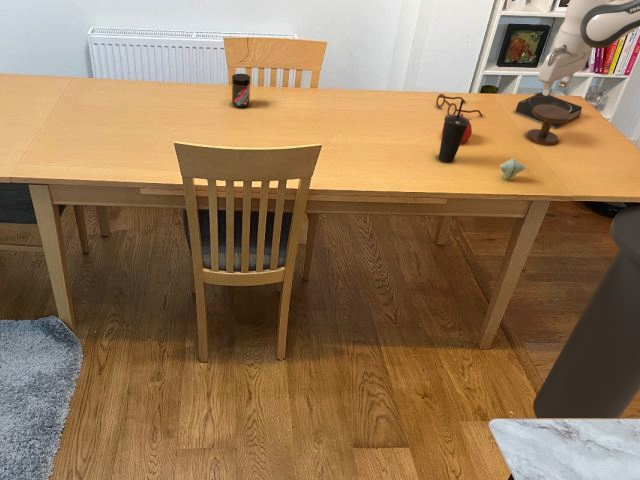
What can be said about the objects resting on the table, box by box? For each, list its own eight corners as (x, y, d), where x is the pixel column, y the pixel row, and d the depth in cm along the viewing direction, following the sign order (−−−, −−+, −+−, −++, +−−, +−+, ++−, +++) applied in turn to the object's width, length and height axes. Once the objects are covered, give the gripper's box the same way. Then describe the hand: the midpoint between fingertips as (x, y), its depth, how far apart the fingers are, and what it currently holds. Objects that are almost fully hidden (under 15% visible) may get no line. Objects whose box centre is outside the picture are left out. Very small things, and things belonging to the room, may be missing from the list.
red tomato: (457, 130, 208) (464, 105, 202) (474, 143, 201) (482, 117, 195) (434, 134, 205) (440, 108, 199) (450, 147, 198) (457, 121, 192)
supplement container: (230, 107, 215) (230, 79, 208) (233, 100, 220) (233, 72, 213) (248, 109, 215) (249, 81, 208) (250, 102, 220) (251, 74, 213)
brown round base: (567, 142, 204) (578, 115, 197) (543, 149, 199) (554, 121, 193) (539, 128, 212) (550, 101, 205) (516, 134, 207) (526, 107, 200)
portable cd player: (556, 128, 212) (560, 118, 209) (515, 112, 222) (518, 102, 219) (579, 117, 220) (583, 107, 217) (538, 102, 230) (541, 92, 227)
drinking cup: (460, 165, 188) (478, 106, 175) (437, 164, 188) (453, 105, 175) (454, 154, 194) (471, 95, 181) (431, 153, 194) (446, 94, 181)
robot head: (496, 181, 181) (503, 162, 177) (492, 175, 185) (499, 155, 180) (522, 183, 181) (529, 163, 177) (518, 176, 185) (525, 157, 180)
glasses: (434, 104, 224) (437, 92, 221) (464, 102, 227) (468, 89, 224) (451, 119, 215) (455, 106, 211) (482, 116, 217) (486, 103, 214)
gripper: (564, 52, 154) (545, 103, 163) (601, 38, 165) (581, 86, 174) (542, 46, 158) (525, 95, 167) (579, 32, 168) (561, 80, 177)
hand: (554, 91), depth 170 cm, fingers open, 8 cm apart
